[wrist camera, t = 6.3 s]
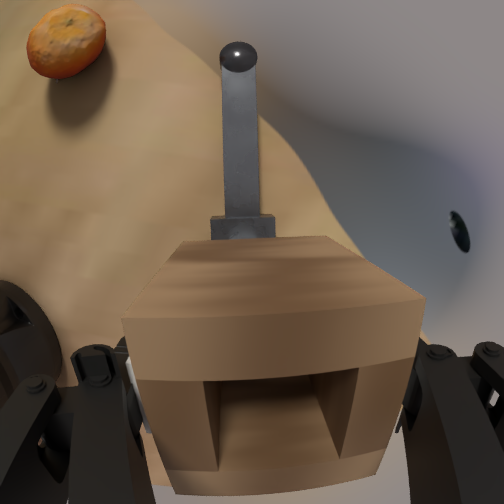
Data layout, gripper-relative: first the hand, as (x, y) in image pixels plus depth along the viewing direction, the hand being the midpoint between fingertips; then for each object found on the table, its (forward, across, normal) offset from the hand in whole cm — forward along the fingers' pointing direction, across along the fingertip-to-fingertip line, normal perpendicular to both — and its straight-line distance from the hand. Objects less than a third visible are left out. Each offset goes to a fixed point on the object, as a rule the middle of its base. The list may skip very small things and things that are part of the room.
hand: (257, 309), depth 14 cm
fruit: (+14, -16, +21) cm, 30 cm away
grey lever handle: (+14, 0, +8) cm, 16 cm away
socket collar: (0, 0, 0) cm, 0 cm away
